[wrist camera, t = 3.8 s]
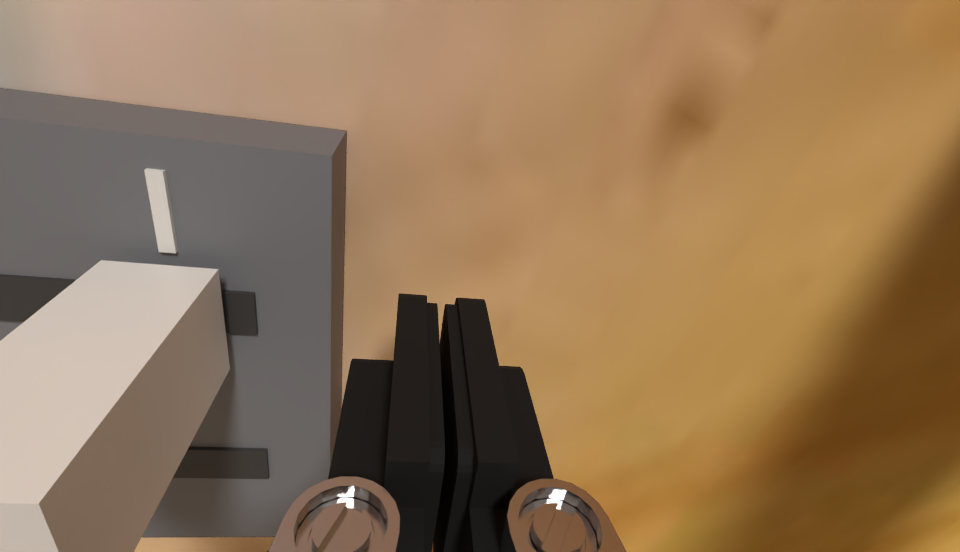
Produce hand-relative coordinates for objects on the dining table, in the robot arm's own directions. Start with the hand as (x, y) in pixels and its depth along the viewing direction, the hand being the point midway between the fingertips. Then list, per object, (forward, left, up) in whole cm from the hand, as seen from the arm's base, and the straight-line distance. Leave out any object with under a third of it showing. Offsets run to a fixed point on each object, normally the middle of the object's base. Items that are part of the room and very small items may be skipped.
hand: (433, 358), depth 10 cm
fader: (+5, 0, -1) cm, 5 cm away
